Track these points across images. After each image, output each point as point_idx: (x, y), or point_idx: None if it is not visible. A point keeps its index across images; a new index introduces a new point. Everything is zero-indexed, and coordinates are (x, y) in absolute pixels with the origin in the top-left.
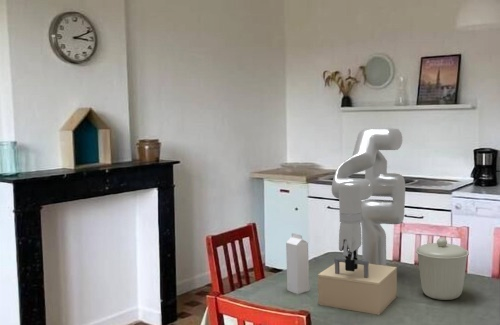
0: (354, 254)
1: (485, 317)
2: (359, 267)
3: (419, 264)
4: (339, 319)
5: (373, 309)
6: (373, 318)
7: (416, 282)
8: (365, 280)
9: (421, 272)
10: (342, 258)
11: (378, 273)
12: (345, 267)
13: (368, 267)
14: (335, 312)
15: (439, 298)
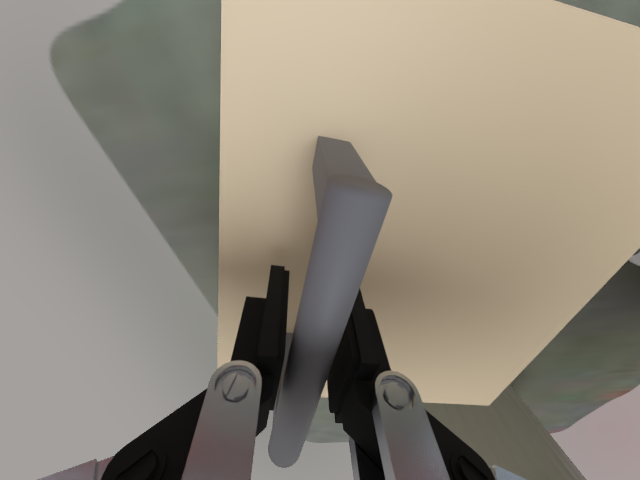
0: (365, 447)
1: (316, 434)
2: (502, 277)
3: (494, 458)
4: (125, 163)
5: None
6: (206, 272)
7: (564, 329)
8: (229, 346)
9: (465, 431)
10: (325, 305)
11: None
12: (269, 279)
13: (495, 319)
14: (195, 127)
15: None
